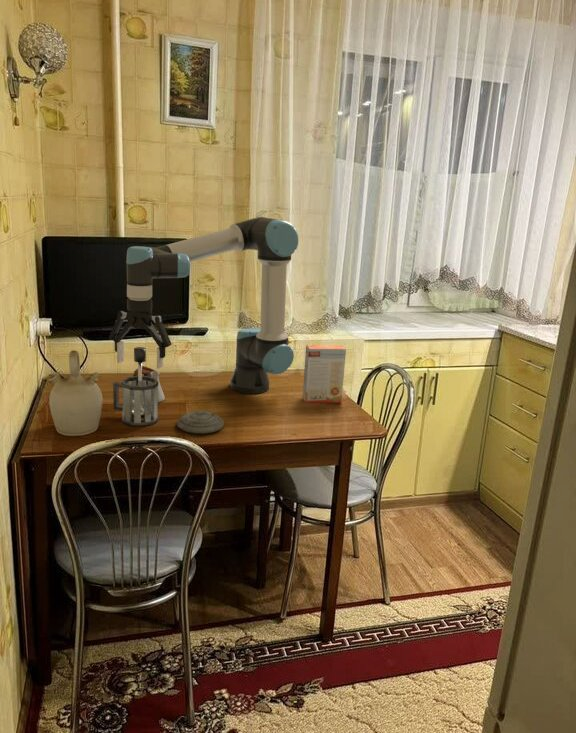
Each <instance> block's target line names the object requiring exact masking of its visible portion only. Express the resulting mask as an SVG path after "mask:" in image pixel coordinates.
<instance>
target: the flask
mask: <svg viewBox="0 0 576 733" xmlns="http://www.w3.org/2000/svg"><path fill="white" fill-rule="evenodd" d="M150 375H151V377H153V378H156V379H157V381H158V403H161V402H163V401H165V400H166V396H165V394H164V392H163V389H162V385H161V383H160V378H159V377H160V376H159V375H160V372H159V371H157V372H151V373H150Z"/></svg>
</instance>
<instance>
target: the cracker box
mask: <svg viewBox="0 0 576 733" xmlns="http://www.w3.org/2000/svg"><path fill="white" fill-rule="evenodd" d="M346 354H347V349H346V347H344V346H343V345H342V344H341V345H337V344H336V345H334V344H333V345H332V344H331V345H330V344H328V345H327V344H326V345H325V344H323V345H321V344H320V345H319V344H306V345H305V356H304V358H305V359H304V370H303V371H304V372H303V385H302V386H303V387H302V389H303V390H302V399H303V401H304V403H305V404H308V403H309V404H310V403H314V404H315V403H319V404H320V403H324V404H325V403H328V404H329V403H330V404H331V403H335V404H336V403H337V404H338V403H339V404H340V403H342V401H343V386H344V376H345V366H346V357H347V356H346Z"/></svg>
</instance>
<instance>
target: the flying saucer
mask: <svg viewBox="0 0 576 733" xmlns="http://www.w3.org/2000/svg"><path fill="white" fill-rule="evenodd" d="M176 426H177V427H178V428H179V429H180V430H182V431H185V432H187V433H190V434H196V435H197V434H202V435H203V434H211V433H212V434H213V433H214V432H218V431H219V430H221V429H223V427H224V426H225V423H224V421H223V419H222V417H220V416H218V415H217V414H216V413H214V412H211V411H206V410H194V411H190V412H187V413H185V414H183V415H182V416H181V417H180V418H179V419H177V421H176Z"/></svg>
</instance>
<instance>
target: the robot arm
mask: <svg viewBox="0 0 576 733" xmlns="http://www.w3.org/2000/svg"><path fill="white" fill-rule="evenodd" d="M298 245H299V234H298V232H297V229H296V228H295V226H294V225H293V224H292V223H290V222H289V221H286V220H283V219H280V218H279V219H278V218H270V217H263V216H260V217H253V218H251V219H246V220H243V221H240V222H236V223H232V224H230V226H229V228H225V229H222V230H219V231H213V232H210V233H206V234H203V235H198V236H194V237H191V238H187V239H182V240H180V241H176V242H173V243H169V244H164V245H161V246H160V245H159V246H157V247H154V246H135V245H134V246H130V247H128V248H127V251H126V261H125V262H126V263H125V264H126V297H127V299H126V309H127V312H125V311H124V310H120V311H118V312H117V318H116V321H115V322H114V325H113V328H112V329H111V331H110V333H109V336H108V339H109V340H110V341H113V342H114V351H115V353H116V354H117V355H116V360H117V361H116V363H117V364H121V363H123V362H124V361H125V360H124V359H125V358H124V354H125V353H124V352H125V351H124V341H123V340H122V339H124V337H125V336H126V335H127V334H128V333H129V331H131V330H132V329H133V328H134V329H140V330H144V329H145V331H146V332H148V334H149V335H150V337H151V338H152V340H153V341H154V343H156V345H157V346H158V347H157V348H156V369H158V370H159V369H161V368H162V367H163V366H164V363H163V362H164V361H163V360H164V358H165V357H166V348H169V347H170V346H171V345H172V342H171V339H170V337H169V334H168V332H167V330H166V328H165V325H164V322H163V317H162V315H153V299H152V298H153V279H180V278H186V277H188V276H189V274H190V272H191V263H192V262H196V261H201V260H203V259H206V258H207V259H208V258H209V257H210V258H211V257H213V256H217V255H221V254H225V253H228V252H231V251H234V250H235V251H236V252H243V251H246V250H248V251H249V250H253V251H257V261H259V262H260V264H261V288H260V290H261V292H260V294H261V295H260V296H261V297H260V298H261V299H260V328H242V329H240V330H238V331H237V334H236V338H235V339H236V348H235V349H236V350H235V351H236V352H235V353H236V354H235V368H234V371H233V373H232V376H231V379H230V383H229V385H230V389H231V390H233V391H235V392H239V393H241V394H242V393H243V394H261V393H265V392H267V391H269V389H270V380H269V376H268V373H269V374H272V375H281V374H283V373H285V372H286V371H287V370H288V368H290V367H291V366H292V364H293V362H294V358H295V355H294V354H295V353H294V350H293V348H292V347H291V346H290V345H289V335H288V334H287V333H286V332H285V327H286V326H285V322H286V320H285V319H286V297H287V296H286V293H287V289H286V288H287V267H288V264H289V263H290V262H292V255H293V254H294V253H295V251H296V250H297V249H298ZM125 319H126V320H127V321H128V322H127V323H126V324H125V326H124V327H123V328H122V330H121V331H120V329H121V327H122V325H123V323H124V321H125ZM152 321H153V322H154V323H155V326H154V324H153V323H152ZM155 327H156V328H155ZM119 331H120V332H119Z"/></svg>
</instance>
